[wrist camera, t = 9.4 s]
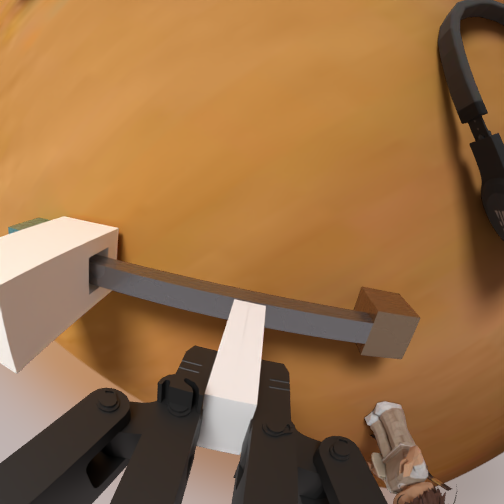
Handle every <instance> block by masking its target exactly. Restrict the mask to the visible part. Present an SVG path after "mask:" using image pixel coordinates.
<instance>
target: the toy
mask: <svg viewBox="0 0 504 504" xmlns="http://www.w3.org/2000/svg"><path fill="white" fill-rule="evenodd" d="M365 420H366V423H367V425H369V426H371V427H370V428H371V430H372V431H373V432H374V435H373V434H372V435H370V436H372V437H373V438H375V439H376V440H377V443H378V446H379V449H380V452H381V454H380V453H374V452H373V453H372V454H371V458H372V461H369V462H367V465H368V467H369V469H370V471H373V473H374V474H375V475H376V476H378V477H379V478H380V479H381V480H383V481H384V482H385V484H386V487H387V489H388V490H389V492H390V493H394V494H397V493H398V494H397V495H396V496H395V498H394V501H393V504H445V503H444V501H445V494H446V493H444V495H443V496H441V493H440V490H439V489H437V491H436V488H435V486H433V485H432V483H430V482H424V481H425V480H426V478H428V479H430V480H431V481H433V482H435V483H436V484H438V485H439V486H441V487H443V488H444V489H446V490H451V488H450V487H448V486H447V485H445V484H444V483H442V482H441V481H439V480H438V479H436V478H435V477H433V476H432V475H431V474H430V473H429V472H428V466H427V465H426V464H425V461H424V459H423V456H422V454H421V450H420V449H419V448H418V447H417V445H415V442H414V440H413V439H412V437H411V435H410V433H409V431H408V429H407V425H406V419H405V415H404V411H403V409H402V408H401V405H399V404H395V403H390V402H386V401H384V402H380V403H377V405H376V407H375V409H374V412H371V413H370V414H369V415H368V416H366V417H365Z"/></svg>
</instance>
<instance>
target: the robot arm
mask: <svg viewBox="0 0 504 504" xmlns="http://www.w3.org/2000/svg"><path fill="white" fill-rule="evenodd" d="M265 310H266V306H263V305H259V304H254V303H249V302H245V301H240V300H236V299H234V302H233V305H232V308H231V312H230V315H229V318H228V321H227V324H226V327H225V331H224V334H223V337H222V340H221V343H220V346H219V350H218V351H215V350H211V349H207V348H203V347H199V346H194V347H192V348H191V349H189V350H188V351H186V353H185V355H184V358H183V360H182V362H181V364H180V366H179V368H178V370H177V372H176V374H173V375H168V376H165V377H163V378H162V379H161V380H160V381H159V382H158V394H157V401H155V402H150V403H138V402H129V400H128V398H127V396H126V395H125V394H123V393H122V392H121V391H118V390H116V389H112V388H102V389H97V390H96V391H94V392H92V393H90V394H89V395H88V396H87V397H85V398H84V399H83V400H82V401H80V402H79V403H78V404H76V405H75V406H74V407H73V408H71V409H70V410H69V411H67V412H66V413H65V414H64V415H62V416H61V417H60V418H58V419H57V420H56V421H55V422H53V423H52V424H51V425H50V426H48V427H47V428H46V429H44V430H43V431H42V432H41V433H39V434H38V435H36V436H35V437H34V438H33V439H32V440H30V441H29V442H28V443H26V444H25V445H23V446H22V447H21V448H20V449H18V450H17V451H16V452H14V453H13V454H12V455H10V456H9V457H8V458H7V459H5V460H4V461H3V462H1V463H0V504H92V503H93V502H94V501H95V500H96V499H97V498H98V496H99V495H101V493H102V492H103V491H104V490H105V489H106V488H107V487H108V486H109V485H110V484H111V483H112V482H113V480H114V479H115V478H116V477H117V476H118V475H119V474H120V473H121V472H122V471H123V469H124V468H125V467H126V466H127V468H126V470H125V472H124V474H123V476H122V478H121V481H120V483H119V485H118V487H117V489H116V492H115V494H114V496H113V498H112V500H111V503H110V504H181V503H182V499H183V496H184V492H185V488H186V485H187V481H188V478H189V474H190V470H191V467H192V463H193V460H194V454H195V449H196V446H199V447H203V448H208V449H212V450H217V451H221V452H226V453H231V454H237V455H240V453H241V457H240V462H239V464H238V467H237V470H236V472H235V475H234V478H236V479H235V485H234V492H233V498H232V504H387V501H386V500H385V498H384V496H383V494H382V492H381V490H380V488H379V486H378V484H377V482H376V480H375V478H374V477H373V475H372V473H371V471H370V469H369V467H368V465H367V463H366V461H365V459H364V457H363V455H362V454H361V452H360V450H359V448H358V447H357V445H356V444H355V443H354V442H352V441H351V440H349V439H347V438H344V437H341V436H332V437H328V438H326V439H325V440H323V441H322V442H320V441H317V440H314V439H311V438H309V437H307V436H304V435H302V434H301V433H300V432H298V431H297V430H296V428H295V425H294V424H293V423H292V422H291V411H290V384H289V382H290V381H289V372H288V370H287V369H286V367H285V365H284V364H281V363H276V362H270V361H265V360H261V357H262V345H263V334H264V322H265Z"/></svg>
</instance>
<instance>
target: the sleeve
mask: <svg viewBox="0 0 504 504" xmlns="http://www.w3.org/2000/svg"><path fill="white" fill-rule="evenodd" d="M118 232H119V228H116V227H111V226H106V225H102V224H97V223H92V222H88V221H83V220H78V219H74V218H69V217H61V218H57V219H54V220H51V221H48V222H44V223H41V224H38V225H35V226H32V227H29V228H26V229H23V230H20V231H17V232H14V233H11V234H8V235H5V236H2V237H0V363H1V364H3V365H4V366H6V367H7V368H9V369H11V370H12V371H13V372H15V373H18V372H20V371H21V370H22V369H23V368H24V367H25V366H26V365H27V364H28V363H29V362H30V361H31V360H32V359H34V357H36V356H37V355H38V354H39V353H40V352H41V351H42V350H43V349H44V348H46V347H47V346H48V345H49V344H50V343H51V342H52V341H54V340H55V339H56V338H57V337H58V336H59V335H60V334H61V333H63V332H64V331H65V330H66V329H67V328H68V327H69V326H71V325H72V324H73V323H74V322H75V321H76V320H78V319H79V318H80V317H81V316H82V315H84V314H85V313H86V312H87V311H88V310H89V309H91V308H92V307H93V306H94V305H95V304H97V303H98V302H99V301H100V300H101V299H103V298H104V297H105V296H106V295H107V294H109V293H110V292H111V291H112V290H110V289H106V288H103V287H99V286H96V285H93V284H90V283H89V257H91V256H93V255H95V254H96V255H100V256H104V257H108V258H112V259H115V260H117V247H118Z"/></svg>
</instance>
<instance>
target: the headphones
mask: <svg viewBox="0 0 504 504" xmlns="http://www.w3.org/2000/svg"><path fill="white" fill-rule="evenodd" d="M478 16H479V17H482V18H486V19H490V20H493V21H496V22H498V23H500V24H502V25H503V26H504V4H502V3H499V2H497V1H494V0H464V1H461V2H458V3H456V5H455V6H454V7H453V9H452V10H451V11H450V13H449V14H448V15H447V17H446V18H445V20H444V22H443V23H442V25H441V26H440V31H439V38H438V46H439V51H440V57H441V62H442V66H443V70H444V74H445V78H446V82H447V85H448V88H449V91H450V95H451V97H452V100H453V102H454V105H455V108H456V110H457V113H458V115H459V118H460V120H461V123H462V124H464V123H468V124H469V126H470V129H471V131H472V134H473V136H474V138H475V142H472V143H470V147H471V149H472V152H473V154H474V157H475V159H476V162H477V165H478V167H479V170H480V174H481V178H482V187H481V197H482V202H483V206H484V209H485V211H486V214H487V216H488V218H489V221H490V222H491V224H492V226H493V228H494V229H495V231H496V232H497V234H498V235H499V236H500V237H501V239H502V240H503V241H504V144H503V142H502V140H501V137H500V135H499V133H497V134H494V135H491V132H490V131H489V130H488V129H487V127H486V125H485V122H484V120H483V118H482V115H485V114H487V113H488V112H487V110H486V107H485V105H484V103H483V100H482V98H481V95H480V93H479V91H478V88H477V86H476V84H475V81H474V78H473V75H472V72H471V69H470V66H469V63H468V60H467V57H466V54H465V51H464V46H463V42H462V38H461V34H460V20H462V19H465V18H468V17H478Z"/></svg>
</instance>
